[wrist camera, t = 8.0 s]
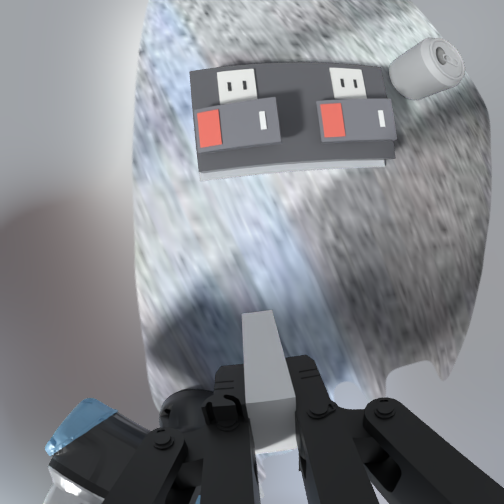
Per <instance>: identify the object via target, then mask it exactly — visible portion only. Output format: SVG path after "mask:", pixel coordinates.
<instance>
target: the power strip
mask: <svg viewBox="0 0 504 504" xmlns="http://www.w3.org/2000/svg"><path fill="white" fill-rule="evenodd" d="M190 84H191V97H192V108H193V119H194V130H195V140H196V150H197V159H198V168H199V176H200V181H208V180H216V179H224V178H232V177H241V176H250V175H259V174H270V173H281V172H293V171H306V170H322V169H341V168H368V167H385V164H384V160H387V159H395V150H394V141H374V142H346V143H328V144H322V142H321V134H320V126H319V119H318V111H317V104H316V101H323V100H340V99H387V95H386V90H385V85H384V80H383V76H382V71H381V67H372V66H363V65H352V64H338V63H312V62H287V63H261V64H247V65H235V66H226V67H217V68H210V69H202V70H196V71H190ZM270 97H276V100H277V106H278V114H279V121H280V129H281V138H282V144H275V145H266V146H257V147H249V148H241V149H234V150H227V151H220V152H214V153H208V154H201V153H198V148H197V138H196V128H195V118H194V110H197V109H202V108H207V107H212V106H217V105H223V104H229V103H235V102H241V101H247V100H255V99H262V98H270Z"/></svg>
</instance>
